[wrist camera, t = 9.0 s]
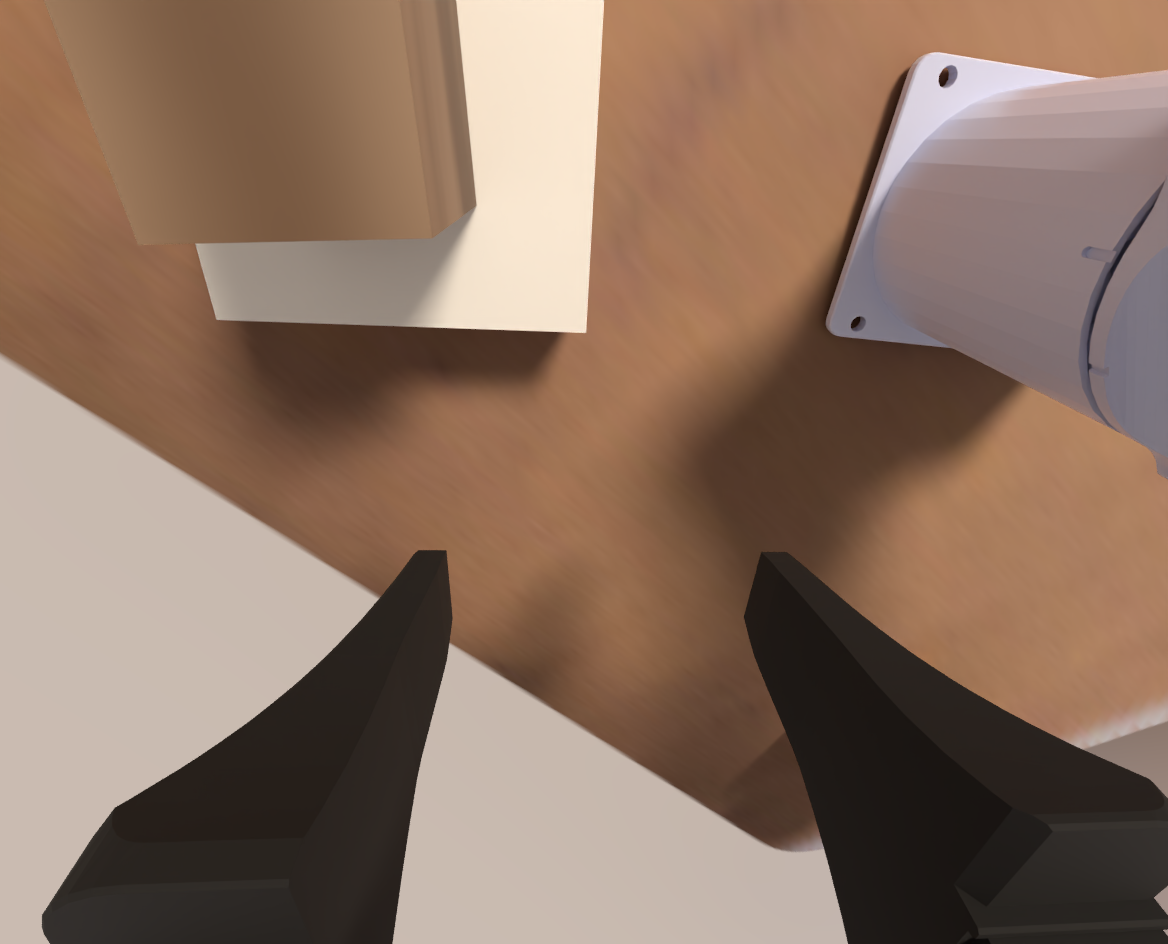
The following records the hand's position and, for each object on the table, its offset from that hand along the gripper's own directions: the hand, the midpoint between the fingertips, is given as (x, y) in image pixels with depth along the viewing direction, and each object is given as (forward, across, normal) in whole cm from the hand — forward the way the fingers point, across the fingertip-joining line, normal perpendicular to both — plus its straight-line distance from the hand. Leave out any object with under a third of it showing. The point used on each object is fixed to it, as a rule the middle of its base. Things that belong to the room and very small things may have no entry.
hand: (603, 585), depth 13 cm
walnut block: (+6, +6, -9) cm, 12 cm away
